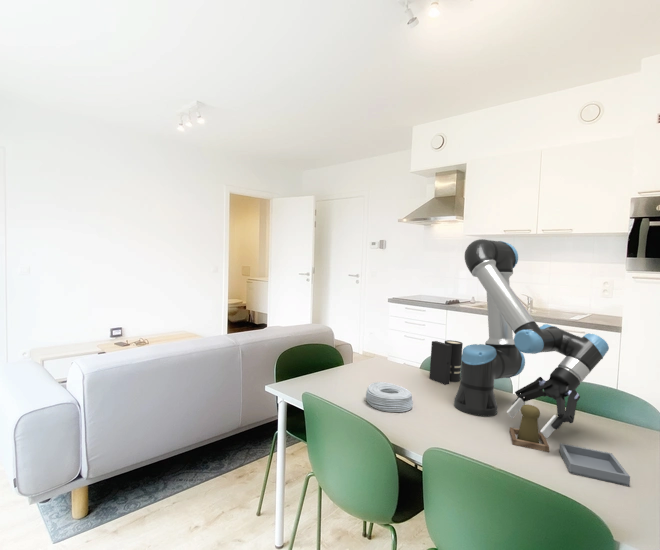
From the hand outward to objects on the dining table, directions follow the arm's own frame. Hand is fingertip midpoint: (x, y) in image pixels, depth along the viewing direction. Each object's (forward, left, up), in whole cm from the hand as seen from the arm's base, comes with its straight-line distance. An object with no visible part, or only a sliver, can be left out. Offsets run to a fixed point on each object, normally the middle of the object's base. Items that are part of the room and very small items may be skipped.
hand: (525, 424), depth 111 cm
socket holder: (+1, +1, -5) cm, 6 cm away
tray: (+15, -8, -5) cm, 18 cm away
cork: (+1, +1, -6) cm, 6 cm away
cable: (-44, +10, -6) cm, 46 cm away
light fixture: (-26, +54, -6) cm, 60 cm away
